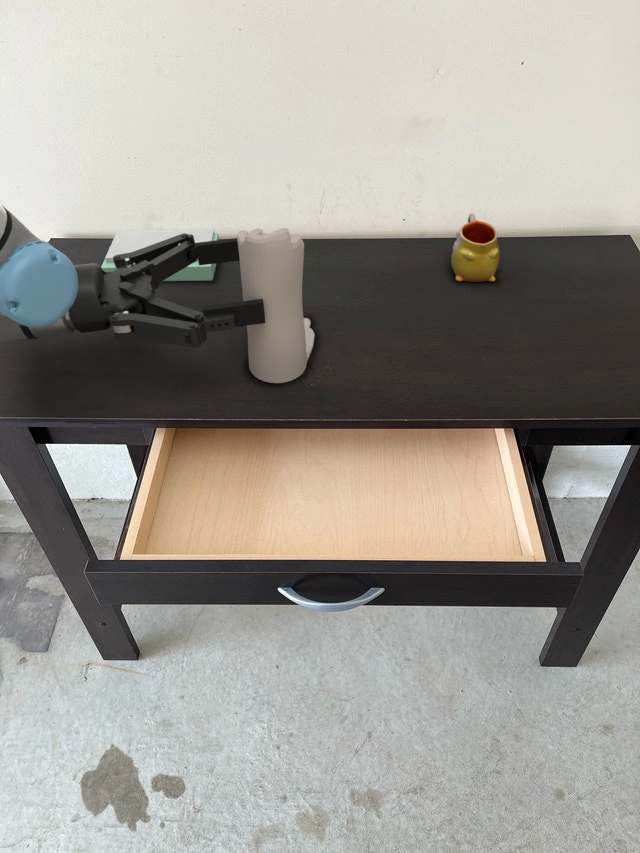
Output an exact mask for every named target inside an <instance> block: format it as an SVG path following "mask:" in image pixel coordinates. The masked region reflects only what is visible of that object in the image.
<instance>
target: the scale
mask: <svg viewBox="0 0 640 853" xmlns="http://www.w3.org/2000/svg"><path fill="white" fill-rule="evenodd" d="M184 233H186V234H191V235H193V236H194V241H195V243H198V242H207V241H216V240H220V236H219V235H220V234H219V233H218V232H215V229H213V228H209V229H143V230H141V229H140V230H139V229H136V230H130V229H129V230H117V231H116V233H115V235H114V237H113V240H112V242H111V244H110V245H109V248H108V251H107V253H106V255H105V257H104V260H103V262H102V265H101V266H100V267H101V268H102V270H103V271H105V272H111V271H114V270H116V268H115V264H114V261H113V257H114V256H115V255H119V254H125V253H130V252H134V251H136V250H139V249H142V248H145V247H147V246H150V245H153V244H155V243H158V242H161V241H164V240H166V239H169V238H172V237H175V236H177V235H180V234H184ZM178 245H180V244H178ZM134 264H135V263H134ZM216 267H217V263H215V264H207V265H199V262H198V260H197V261H196V262H194V263H192V264H191V265H189V266H187V267H185V268H184V269H182V270H180V271H179V272H177V273H175V274H174V275H172V276H170V277H169V278H167V279H165V280H163V281H162V282H195V281H196V282H200V281H201V282H203V281H204V282H205V281H209V282H210V281H213V280H214V276H215V273H216Z"/></svg>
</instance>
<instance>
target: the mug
mask: <svg viewBox="0 0 640 853" xmlns="http://www.w3.org/2000/svg"><path fill="white" fill-rule="evenodd" d="M498 235H499V232H498V231H497V229H496V228H495V227H494V226H493V225H492V224H490V223H488V222H485V221H481V220H478V219H476V215H475V213H473V212H472V213H470V214H469V215H468V217H467V223H465V224H463V225H462V226H461V227H460V228H459V229H458V230H457V231H456V239H455V241H454V243H453V246H452V252H451V256H450V265H451V268H452V272H453V273H454V275H455V281H457V282H471V283H482V282H491V283H492V282H496V277H495V274H496V273H497V271H498V268H499V265H500V259H501V258H500V257H501V252H500V245H499V241H498Z"/></svg>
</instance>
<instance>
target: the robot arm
mask: <svg viewBox="0 0 640 853" xmlns="http://www.w3.org/2000/svg"><path fill="white" fill-rule="evenodd" d="M178 244H180V245H178ZM197 260H198V262H199V265H207V264H215V263H216V264H222V263H223V264H224V263H231V262H240V258H239V249H238V241H237V237H235V238H234V237H233V238H224V239H219V240H216V241H207V242H198V243H195V241H194V236H193V235H191V234H186V233H184V234H180V235H177V236H175V237H172V238H169V239H166V240H164V241H161V242H158V243H155V244H153V245H150V246H147V247H145V248H142V249H139V250H136V251H134V252H130V253H125V254H119V255H115V256H114V257H113V261H114V264H115V268H116V270H114V271H111V272H105V271H103V270H102V268H101V267H102V266H101V265H99V263H96V262H92V263H83V264H75V265H74V263H73V261H72V260H71V259H70V258H69V257H68V256H67V255H66V254H64V253H63V252H61V251H60V250H58V249H57V247H56V246H55V245H54V244H52V243H50V242H49V241H44V240H41V239H40V238H39V237H38V236H36V235H35V234H34V233H33V232H32V231H30V230H29V229H28V228H27V227H26V225H24V224H23V223H22V222H21V220H19V219H18V218H17V217H16V216H15V215H14V214H13V213H12V212H10V211H9V210H8V209H7V208H6V207H5V206H4V205H3V204H2V203H1V202H0V344H4V343H10V342H16V341H17V342H18V341H24V340H35V339H36V340H37V339H40V338H41V339H42V338H49V337H57V336H66V335H72V334H74V332H75V331H77V332H79V333H81V334H84V333H85V334H86V333H92V332H93V333H94V332H100V331H107V330H110V329H111V328H112V332H113V335H114V338H115V339H117V340H123V339H139V340H145V341H152V342H156V343H157V342H158V343H164V344H169V345H175V346H181V347H188V348H193V349H196V348H199V347H201V346H202V343H205V342H206V341H207V340H208V334H207V333H212V332H219V331H225V330H227V331H228V330H233V329H235V328H239V327H247V325H255V324H262V323H265V313H264V303H263V299H258V300H250V301H244V300H242V301H235V302H234V301H233V302H226V303H219V304H212V305H203V306H202V312H201V311H199V310H195V309H192V308H189V307H186V306H183V305H180V304H177V303H174V302H172V301H170V300H169V301H168V300H166V299H162V298H159V297H157V296H156V290H157V289H158V287H159V285H160V283H162V282H164V281H163V280H165V279H167V278H169V277H170V276H172V275H174V274H175V273H177V272H179V271H180V270H182V269H184V268H185V267H187V266H189V265H191V264H192V263H194V262H196V261H197ZM134 263H135V264H134ZM186 333H187V335H186Z"/></svg>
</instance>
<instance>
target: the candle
mask: <svg viewBox="0 0 640 853" xmlns="http://www.w3.org/2000/svg"><path fill="white" fill-rule="evenodd" d="M236 238H237V241H238V249H239V258H240V261H239V269H240V270H239V271H240V279H241V288H242V299H243V300H242V301H250V300H258V299H263V303H264V313H265V323H262V324H255V325H247V326H246V330H247V354H248V355H247V356H248V367H249V368H248V369H249V371H250V372H251V374H252V375H253V376H254V378H256V379H258V380H260V381H262V382H266V383H269V384H284V383H288V382H291V381H293V380H296V379H297V378H299V377H301V376H302V375H303V374H304V372H305V370H306V369H307V363H308V361H309V358H310V356H311V353H312V350H313V348H314V343H315V332H314V330H313V329H312V328H311V320H310V319H309V318H308V317H304V309H303V307H304V306H303V275H304V263H305V262H304V261H305V260H304V259H305V242H304V240H303V239H302V237H300V235H293V236H291V234H290V231H289V229H288V228H287V227H282V228H279V229H277V230H275V231H272V232H270V233H265V234H264V232H263V229H261V228H254V229H252V230H251V231H249V232H248V231H247V230H245V229H243V230H239V231H238V233H237V237H236Z"/></svg>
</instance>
